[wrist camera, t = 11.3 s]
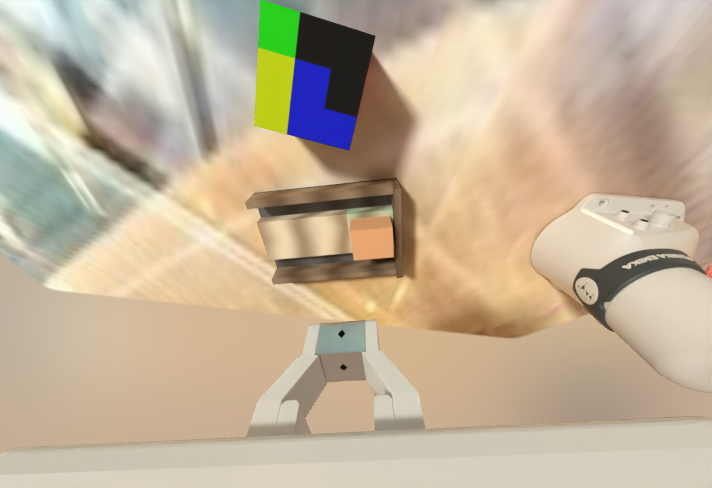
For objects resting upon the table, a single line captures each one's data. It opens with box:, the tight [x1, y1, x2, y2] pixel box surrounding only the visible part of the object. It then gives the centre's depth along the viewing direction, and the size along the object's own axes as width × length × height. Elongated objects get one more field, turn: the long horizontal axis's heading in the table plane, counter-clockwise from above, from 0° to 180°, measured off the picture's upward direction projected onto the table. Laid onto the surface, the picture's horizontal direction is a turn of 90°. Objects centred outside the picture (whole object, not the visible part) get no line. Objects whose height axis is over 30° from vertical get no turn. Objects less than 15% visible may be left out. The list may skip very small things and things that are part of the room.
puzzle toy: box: [254, 0, 375, 150], centre depth 29 cm, size 10×10×10 cm
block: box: [350, 215, 394, 261], centre depth 40 cm, size 6×5×4 cm
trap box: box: [245, 178, 403, 284], centre depth 42 cm, size 22×15×5 cm
